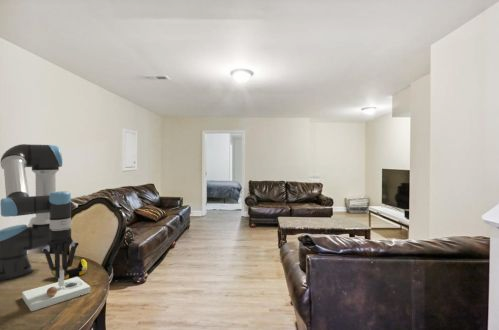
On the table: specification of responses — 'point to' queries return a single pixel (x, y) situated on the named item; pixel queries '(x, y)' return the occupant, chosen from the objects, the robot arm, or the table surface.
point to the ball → (71, 284)
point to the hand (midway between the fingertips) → (61, 285)
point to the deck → (40, 299)
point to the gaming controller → (75, 270)
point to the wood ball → (51, 291)
